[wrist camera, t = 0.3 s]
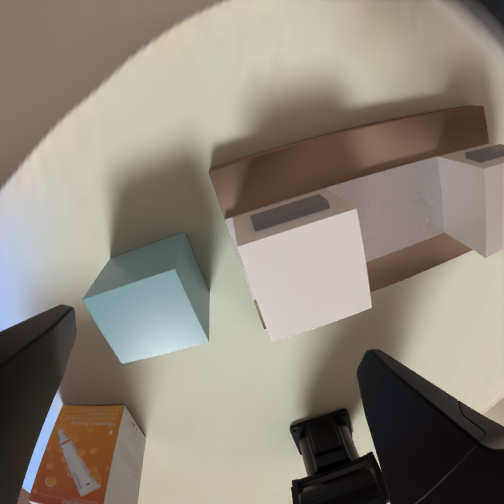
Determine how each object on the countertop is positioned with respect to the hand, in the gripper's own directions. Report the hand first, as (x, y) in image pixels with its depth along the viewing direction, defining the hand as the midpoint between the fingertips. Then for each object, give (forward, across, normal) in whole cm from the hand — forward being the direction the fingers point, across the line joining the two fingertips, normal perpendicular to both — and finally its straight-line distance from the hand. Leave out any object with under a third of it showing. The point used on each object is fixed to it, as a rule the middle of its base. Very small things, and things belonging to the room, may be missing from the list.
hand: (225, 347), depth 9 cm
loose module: (+14, +4, +5) cm, 15 cm away
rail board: (+14, -11, -3) cm, 18 cm away
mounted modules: (+12, -11, -3) cm, 17 cm away
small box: (+14, +9, +24) cm, 30 cm away
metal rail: (+12, -11, -3) cm, 17 cm away
